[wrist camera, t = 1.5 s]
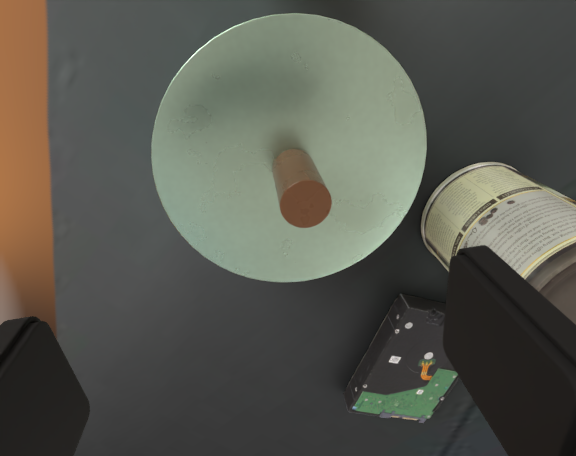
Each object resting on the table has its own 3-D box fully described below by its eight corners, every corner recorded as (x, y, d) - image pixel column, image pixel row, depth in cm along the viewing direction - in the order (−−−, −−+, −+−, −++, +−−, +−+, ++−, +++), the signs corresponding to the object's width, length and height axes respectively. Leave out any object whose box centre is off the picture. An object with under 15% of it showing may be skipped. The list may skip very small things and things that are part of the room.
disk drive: (395, 289, 39) (341, 393, 45) (406, 306, 36) (347, 414, 42) (482, 308, 41) (419, 405, 47) (497, 326, 39) (429, 426, 45)
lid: (423, -8, 20) (491, -20, 14) (415, 252, 27) (459, 309, 22) (116, 37, 19) (67, 42, 14) (192, 289, 27) (180, 357, 21)
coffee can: (549, 168, 34) (725, 250, 22) (501, 267, 39) (624, 382, 26) (442, 151, 32) (567, 230, 20) (404, 257, 37) (487, 375, 25)
